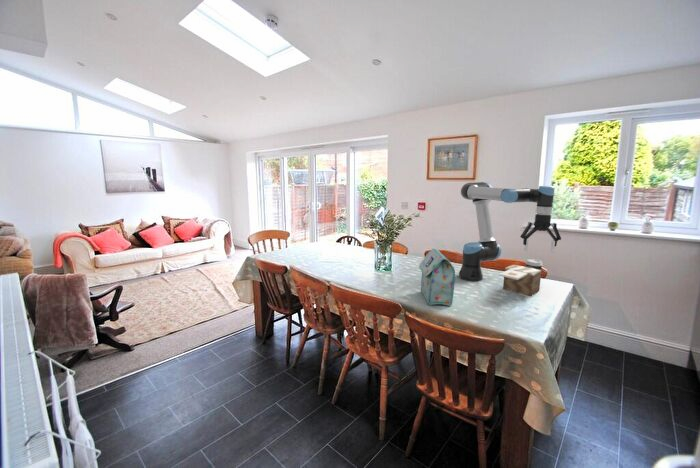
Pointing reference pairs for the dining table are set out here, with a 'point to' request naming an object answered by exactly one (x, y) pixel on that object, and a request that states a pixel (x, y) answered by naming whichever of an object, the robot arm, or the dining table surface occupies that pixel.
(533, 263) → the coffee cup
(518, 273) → the white flat panel
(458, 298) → the dining table surface
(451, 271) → the lunch bag
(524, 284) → the cardboard box
